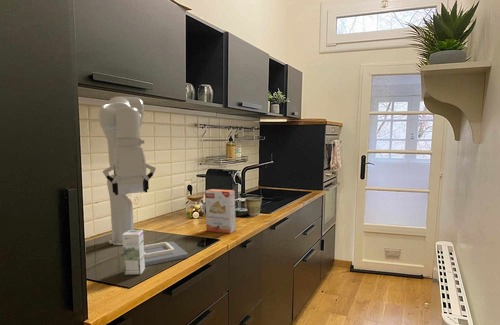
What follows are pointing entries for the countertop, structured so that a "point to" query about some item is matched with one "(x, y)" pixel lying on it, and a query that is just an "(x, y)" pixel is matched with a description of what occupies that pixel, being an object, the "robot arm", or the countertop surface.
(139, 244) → the syrup box
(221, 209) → the cracker box
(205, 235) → the countertop surface
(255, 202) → the ceramic cup
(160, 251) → the base board
